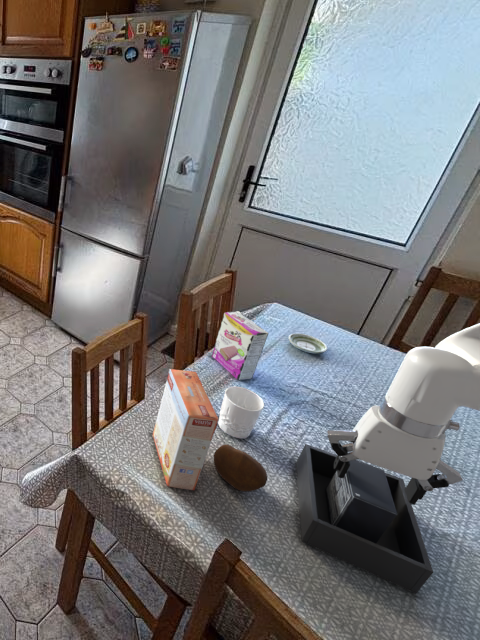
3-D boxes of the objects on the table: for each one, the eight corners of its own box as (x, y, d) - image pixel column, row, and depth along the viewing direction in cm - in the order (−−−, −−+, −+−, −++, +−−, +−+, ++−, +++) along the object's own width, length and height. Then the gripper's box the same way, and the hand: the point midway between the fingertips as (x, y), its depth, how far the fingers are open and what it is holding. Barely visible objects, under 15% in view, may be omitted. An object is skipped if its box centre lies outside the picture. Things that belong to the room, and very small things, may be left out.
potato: (215, 456, 94) (224, 431, 91) (265, 485, 88) (276, 459, 84) (203, 476, 90) (212, 451, 86) (254, 508, 83) (266, 482, 80)
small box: (375, 552, 75) (400, 516, 70) (330, 532, 78) (351, 496, 74) (364, 504, 83) (386, 469, 78) (323, 488, 86) (342, 453, 82)
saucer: (319, 343, 131) (322, 336, 130) (329, 361, 123) (332, 355, 122) (283, 336, 135) (285, 329, 134) (290, 353, 127) (292, 347, 126)
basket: (388, 501, 84) (403, 479, 81) (414, 595, 69) (433, 572, 67) (295, 465, 92) (305, 443, 89) (300, 542, 77) (312, 519, 74)
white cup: (258, 444, 97) (270, 412, 93) (221, 439, 98) (232, 408, 94) (243, 418, 104) (255, 388, 100) (210, 414, 105) (220, 384, 101)
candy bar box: (209, 357, 126) (223, 311, 119) (224, 355, 126) (238, 310, 119) (237, 382, 116) (253, 334, 109) (252, 380, 116) (270, 332, 109)
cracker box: (196, 492, 87) (221, 419, 78) (165, 487, 88) (186, 415, 79) (178, 438, 99) (197, 370, 90) (151, 434, 100) (168, 367, 91)
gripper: (478, 422, 67) (433, 491, 74) (341, 384, 76) (312, 449, 83) (498, 455, 61) (446, 527, 69) (347, 410, 70) (315, 478, 78)
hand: (373, 484), depth 76 cm, fingers open, 9 cm apart
